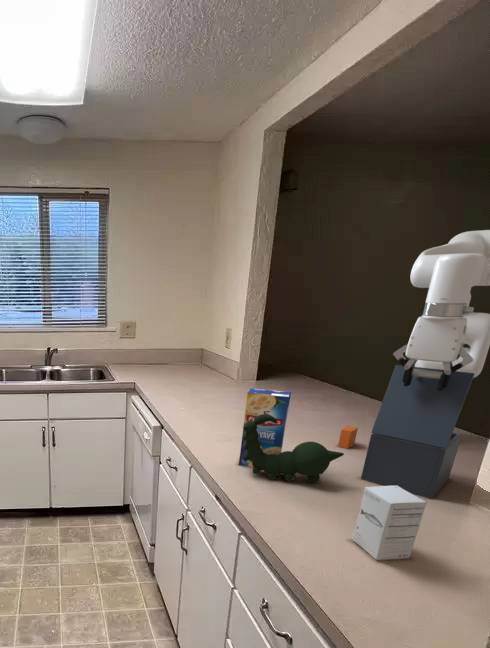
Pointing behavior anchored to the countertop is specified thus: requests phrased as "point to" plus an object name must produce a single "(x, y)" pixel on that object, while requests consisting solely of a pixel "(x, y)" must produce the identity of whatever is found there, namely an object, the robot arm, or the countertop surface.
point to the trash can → (409, 464)
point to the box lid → (422, 406)
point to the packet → (347, 437)
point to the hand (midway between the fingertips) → (423, 387)
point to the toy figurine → (285, 455)
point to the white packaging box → (388, 522)
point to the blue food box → (268, 431)
